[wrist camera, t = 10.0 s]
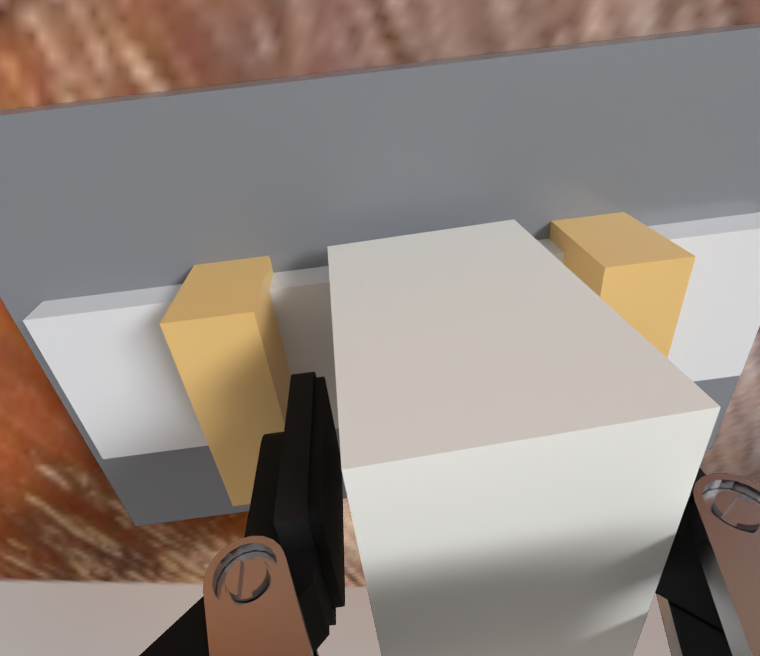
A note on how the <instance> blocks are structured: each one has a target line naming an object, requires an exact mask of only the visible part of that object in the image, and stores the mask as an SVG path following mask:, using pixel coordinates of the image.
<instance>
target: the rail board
mask: <svg viewBox="0 0 760 656" xmlns="http://www.w3.org/2000/svg"><path fill="white" fill-rule="evenodd" d="M513 219H514V220H515V221H517V222H518V223H519V224H520V225H521V226H522V227H523V228H524V229H525V230H526V231H528V232H529V233H530V234H531V235H532V236H533V237H534V238H535V239H536V240H538V241H539V242H540V243H541V244H542V245H543V246H544V247H545V248H546V249H547V250H549V251H550V252H551V253H552V254H553V255H554V256H555V257H556V258H557V259H558V260H560V261H561V262H562V263H563V264H564V265H565V266H566V267H567V268H568V269H569V270H571V271H572V272H573V273H574V274H575V275H576V276H577V277H578V278H579V279H580V280H582V281H583V282H584V283H585V284H586V285H587V286H588V287H589V288H590V289H592V290H593V291H594V292H595V293H596V294H597V295H598V296H599V297H600V298H601V299H603V300H604V301H605V302H606V303H607V304H608V305H609V306H610V307H611V308H612V309H614V310H615V311H616V312H617V313H618V314H619V315H620V316H621V317H622V318H623V319H625V320H626V321H627V322H628V323H629V324H630V325H631V326H632V327H633V328H635V329H636V330H637V331H638V332H639V333H640V334H641V335H642V336H643V337H644V338H646V339H647V340H648V341H649V342H650V343H651V344H652V345H653V346H654V347H655V348H657V349H658V350H659V351H660V352H661V353H662V354H663V355H664V356H665V357H666V358H668V359H669V360H670V361H671V362H672V363H673V364H674V365H675V366H676V367H677V368H679V369H680V370H681V371H682V372H683V373H684V374H685V375H686V376H687V377H689V378H690V379H691V380H692V381H693V382H694V383H695V384H696V385H697V386H698V387H700V388H701V389H702V390H703V391H704V392H705V393H706V394H707V395H708V396H709V397H711V398H712V399H713V400H714V401H715V402H716V403H717V404H718V405H719V406H720V407H721V408H720V411H719V414H718V416H717V419H716V422H715V425H714V428H713V431H712V433H711V436H710V439H709V442H708V445H707V447H706V449H711V448H712V446H713V443H714V440H715V438H716V435H717V433H718V430H719V427H720V425H721V422H722V420H723V417H724V414H725V412H726V409H727V407H728V404H729V401H730V399H731V396H732V394H733V391H734V388H735V386H736V383H737V381H738V378H739V376H740V375H741V373H742V370H743V368H744V365H745V363H746V360H747V357H748V355H749V352H750V350H751V347H752V344H753V342H754V339H755V337H756V334H757V332H758V329H759V326H760V23H754V24H745V25H736V26H728V27H719V28H710V29H702V30H693V31H684V32H675V33H667V34H658V35H649V36H641V37H632V38H623V39H615V40H606V41H597V42H589V43H580V44H571V45H563V46H554V47H545V48H537V49H528V50H519V51H511V52H502V53H493V54H485V55H476V56H467V57H459V58H450V59H441V60H433V61H424V62H415V63H407V64H398V65H389V66H381V67H372V68H363V69H355V70H346V71H337V72H329V73H320V74H311V75H303V76H294V77H285V78H277V79H268V80H259V81H251V82H242V83H233V84H225V85H216V86H207V87H198V88H190V89H181V90H172V91H164V92H155V93H146V94H138V95H129V96H120V97H112V98H103V99H94V100H86V101H77V102H68V103H60V104H51V105H42V106H34V107H25V108H16V109H8V110H0V298H1V300H2V301H3V303H4V305H5V306H6V308H7V310H8V311H9V313H10V315H11V317H12V318H13V320H14V322H15V323H16V325H17V327H18V328H19V330H20V332H21V333H22V335H23V337H24V339H25V340H26V342H27V344H28V345H29V347H30V349H31V350H32V352H33V354H34V355H35V357H36V359H37V361H38V362H39V364H40V366H41V367H42V369H43V371H44V372H45V374H46V376H47V377H48V379H49V381H50V383H51V384H52V386H53V388H54V389H55V391H56V393H57V394H58V396H59V398H60V399H61V401H62V403H63V404H64V406H65V408H66V410H67V411H68V413H69V415H70V416H71V418H72V420H73V421H74V423H75V425H76V426H77V428H78V430H79V432H80V433H81V435H82V437H83V438H84V440H85V442H86V443H87V445H88V447H89V448H90V450H91V452H92V454H93V455H94V457H95V459H96V460H97V462H98V464H99V465H100V467H101V469H102V470H103V472H104V474H105V476H106V477H107V479H108V481H109V482H110V484H111V486H112V487H113V489H114V491H115V492H116V494H117V496H118V498H119V499H120V501H121V503H122V504H123V506H124V508H125V509H126V511H127V513H128V514H129V516H130V518H131V520H132V521H133V523H134V525H135V526H142V525H150V524H157V523H165V522H172V521H179V520H187V519H194V518H202V517H209V516H216V515H224V514H231V513H239V512H246V511H249V509H250V503H251V497H252V491H253V485H254V480H255V474H256V468H257V462H258V457H259V451H260V445H261V440H262V437H263V435H264V434H269V433H277V432H284V429H285V420H286V412H287V403H288V395H289V387H290V378H291V375H292V374H299V373H306V372H315V373H316V376H317V377H323V376H324V377H325V380H326V385H327V390H328V395H329V400H330V405H331V410H332V415H333V420H334V425H335V430H336V435H337V440H338V445H339V450H340V438H339V422H338V406H337V391H336V375H335V359H334V343H333V327H332V312H331V296H330V280H329V264H328V248H327V246H334V245H341V244H348V243H355V242H361V241H368V240H375V239H382V238H389V237H396V236H403V235H410V234H417V233H423V232H430V231H437V230H444V229H451V228H458V227H465V226H472V225H479V224H485V223H492V222H499V221H506V220H513ZM340 456H341V454H340ZM342 490H343V498H347V493H346V488H345V484H344V479H343V474H342Z"/></svg>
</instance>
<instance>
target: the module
mask: <svg viewBox="0 0 760 656" xmlns="http://www.w3.org/2000/svg"><path fill="white" fill-rule="evenodd" d="M327 248H328V264H329V280H330V296H331V312H332V327H333V343H334V359H335V375H336V391H337V406H338V422H339V438H340V454H341V470H342V474H343V479H344V484H345V488H346V493H347V498H348V502H349V507H350V512H351V516H352V521H353V525H354V530H355V535H356V539H357V544H358V549H359V553H360V558H361V563H362V567H363V572H364V576H365V581H366V586H367V590H368V595H369V600H370V604H371V608H372V613H373V618H374V623H375V627H376V632H377V637H378V641H379V646H380V650H381V655H382V656H633V653H634V650H635V648H636V645H637V642H638V639H639V636H640V633H641V631H642V628H643V625H644V622H645V619H646V617H647V614H648V611H649V608H650V605H651V603H652V600H653V596H654V594H655V591H656V589H657V586H658V583H659V580H660V577H661V574H662V572H663V569H664V566H665V563H666V560H667V557H668V555H669V552H670V549H671V546H672V543H673V541H674V538H675V535H676V532H677V529H678V526H679V524H680V521H681V518H682V515H683V512H684V510H685V507H686V504H687V501H688V498H689V495H690V493H691V490H692V487H693V484H694V481H695V478H696V476H697V473H698V470H699V467H700V464H701V462H702V459H703V456H704V453H705V450H706V447H707V445H708V442H709V439H710V436H711V433H712V431H713V428H714V425H715V422H716V419H717V416H718V414H719V411H720V408H721V407H720V406H719V405H718V404H717V403H716V402H715V401H714V400H713V399H712V398H711V397H709V396H708V395H707V394H706V393H705V392H704V391H703V390H702V389H701V388H700V387H698V386H697V385H696V384H695V383H694V382H693V381H692V380H691V379H690V378H689V377H687V376H686V375H685V374H684V373H683V372H682V371H681V370H680V369H679V368H677V367H676V366H675V365H674V364H673V363H672V362H671V361H670V360H669V359H668V358H666V357H665V356H664V355H663V354H662V353H661V352H660V351H659V350H658V349H657V348H655V347H654V346H653V345H652V344H651V343H650V342H649V341H648V340H647V339H646V338H644V337H643V336H642V335H641V334H640V333H639V332H638V331H637V330H636V329H635V328H633V327H632V326H631V325H630V324H629V323H628V322H627V321H626V320H625V319H623V318H622V317H621V316H620V315H619V314H618V313H617V312H616V311H615V310H614V309H612V308H611V307H610V306H609V305H608V304H607V303H606V302H605V301H604V300H603V299H601V298H600V297H599V296H598V295H597V294H596V293H595V292H594V291H593V290H592V289H590V288H589V287H588V286H587V285H586V284H585V283H584V282H583V281H582V280H580V279H579V278H578V277H577V276H576V275H575V274H574V273H573V272H572V271H571V270H569V269H568V268H567V267H566V266H565V265H564V264H563V263H562V262H561V261H560V260H558V259H557V258H556V257H555V256H554V255H553V254H552V253H551V252H550V251H549V250H547V249H546V248H545V247H544V246H543V245H542V244H541V243H540V242H539V241H538V240H536V239H535V238H534V237H533V236H532V235H531V234H530V233H529V232H528V231H526V230H525V229H524V228H523V227H522V226H521V225H520V224H519V223H518V222H517V221H515V220H514V219H513V220H506V221H499V222H492V223H485V224H479V225H472V226H465V227H458V228H451V229H444V230H437V231H430V232H423V233H417V234H410V235H403V236H396V237H389V238H382V239H375V240H368V241H361V242H355V243H348V244H341V245H334V246H327Z"/></svg>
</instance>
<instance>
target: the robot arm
mask: <svg viewBox="0 0 760 656" xmlns="http://www.w3.org/2000/svg"><path fill="white" fill-rule="evenodd" d="M655 593H656V594H657V600H658V604H659V608H660V612H661V616H662V620H663V624H664V628H665V632H666V636H667V640H668V644H669V648H670V652H671V656H760V485H759V484H757V483H755V482H753V481H751V480H748V479H746V478H743V477H740V476H736V475H731V474H726V473H713V474H709V475H705V474H704V472H703V471H702V470H701V469H700V468H699V470H698V473H697V476H696V478H695V481H694V484H693V487H692V490H691V493H690V495H689V498H688V501H687V504H686V507H685V510H684V512H683V515H682V518H681V521H680V524H679V526H678V529H677V532H676V535H675V538H674V541H673V543H672V546H671V549H670V552H669V555H668V557H667V560H666V563H665V566H664V569H663V572H662V574H661V577H660V580H659V583H658V586H657V589H656V591H655ZM203 594H204V596H203V597H202V598H201V599H200V600H199V601H198V602H197V603H196V604H194V605H193V606H192V607H191V608H190V609H189V610H188V611H187V612H186V613H185V614H184V615H183V616H182V617H180V618H179V620H177V621H176V622H175V623H174V624H173V625H172V626H171V627H170V628H169V629H167V630H166V631H165V632H164V633H163V634H162V635H161V636H160V637H159V638H158V639H157V640H156V641H155V642H153V643H152V644H151V645H150V646H149V647H148V648H147V649H146V650H145V651H144V652H143V653H142V654H141V655H139V656H319V655H318V651H317V649H318V647H319V646H320V645H321V644H322V643H323V641H324V640H325V639H326V638H327V636H328V635H329V625H336V607H342V606H345V578H344V534H343V490H342V470H341V456H340V450H339V445H338V440H337V435H336V430H335V425H334V420H333V415H332V410H331V405H330V400H329V395H328V390H327V385H326V380H325V377H324V376H323V377H317V376H316V373H315V372H306V373H299V374H292V375H291V378H290V387H289V395H288V403H287V412H286V420H285V429H284V432H277V433H269V434H264V435H263V437H262V440H261V445H260V451H259V457H258V462H257V468H256V474H255V480H254V485H253V491H252V497H251V503H250V509H249V514H248V520H247V526H246V532H245V538H241V539H238V540H237V541H235V542H233V543H231V544H229V545H227V546H226V547H225V548H224V549H223V550H222V551H221V552H219V553H218V554H217V555H216V557H215V558H214V559H213V561H212V562H211V564H210V565H209V567H208V569H207V572H206V574H205V577H204V585H203Z"/></svg>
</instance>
